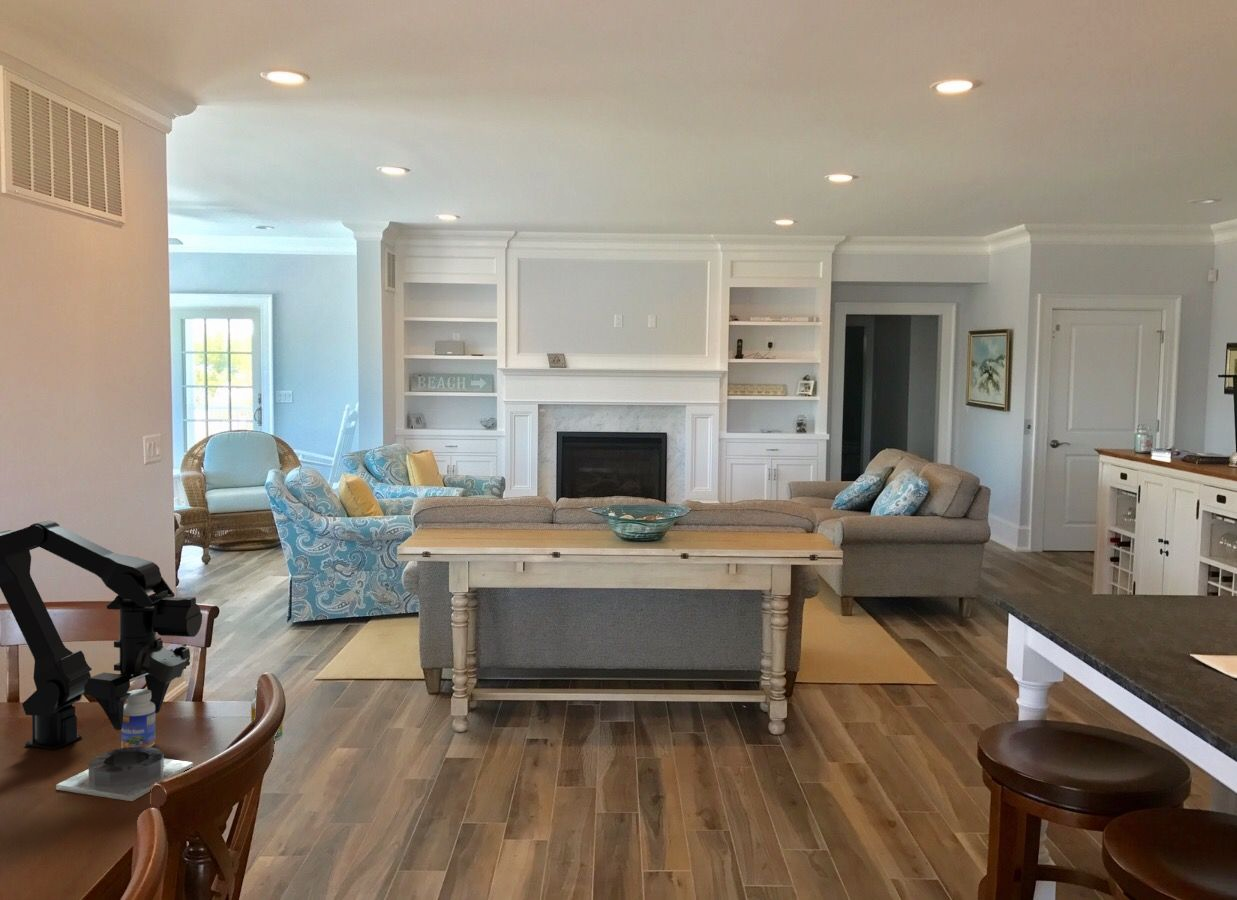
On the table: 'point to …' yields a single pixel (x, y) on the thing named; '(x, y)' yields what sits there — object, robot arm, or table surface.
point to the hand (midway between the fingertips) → (137, 721)
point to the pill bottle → (138, 720)
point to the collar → (124, 773)
